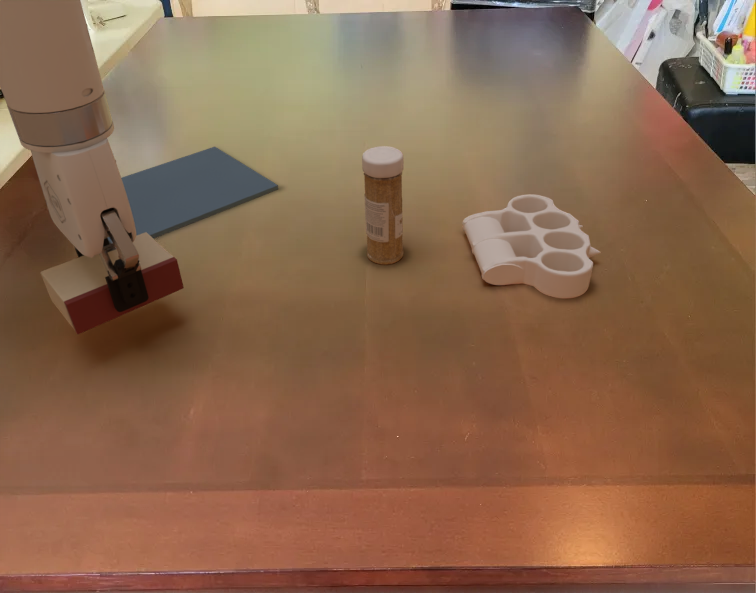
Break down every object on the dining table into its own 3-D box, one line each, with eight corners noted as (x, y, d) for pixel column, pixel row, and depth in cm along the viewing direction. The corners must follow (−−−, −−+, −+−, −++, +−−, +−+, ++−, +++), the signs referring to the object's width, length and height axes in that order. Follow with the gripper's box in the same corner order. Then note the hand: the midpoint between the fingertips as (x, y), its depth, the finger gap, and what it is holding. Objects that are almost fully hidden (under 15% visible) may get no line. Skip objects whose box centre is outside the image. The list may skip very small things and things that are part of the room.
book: (77, 334, 61) (66, 304, 59) (51, 300, 66) (39, 270, 64) (184, 288, 67) (177, 259, 65) (153, 259, 71) (145, 231, 69)
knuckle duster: (456, 221, 86) (565, 213, 87) (489, 306, 71) (619, 295, 72) (457, 198, 84) (569, 190, 85) (491, 281, 69) (625, 270, 70)
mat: (118, 253, 82) (116, 247, 81) (65, 201, 93) (64, 196, 92) (278, 190, 94) (278, 185, 93) (215, 151, 105) (214, 146, 104)
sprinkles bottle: (410, 257, 79) (411, 154, 71) (380, 270, 77) (377, 166, 69) (388, 241, 82) (387, 140, 74) (358, 253, 80) (353, 151, 72)
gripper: (-15, 99, 58) (47, 263, 69) (55, 166, 48) (115, 347, 59) (69, 80, 62) (116, 238, 73) (151, 138, 52) (191, 312, 63)
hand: (115, 285), depth 66 cm, fingers closed on book, 7 cm apart
